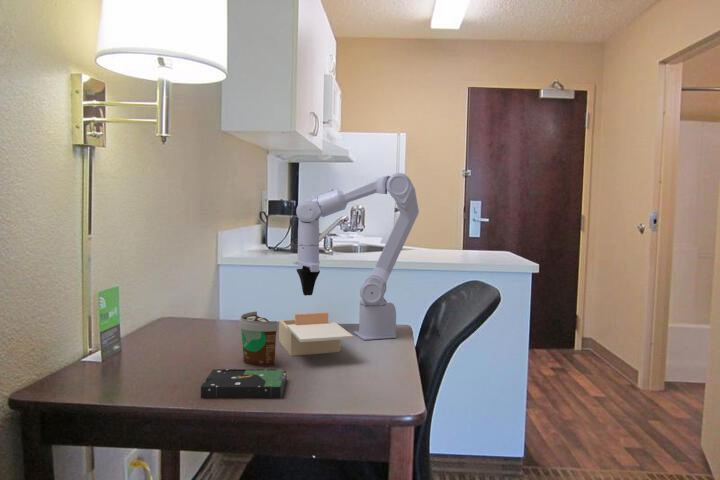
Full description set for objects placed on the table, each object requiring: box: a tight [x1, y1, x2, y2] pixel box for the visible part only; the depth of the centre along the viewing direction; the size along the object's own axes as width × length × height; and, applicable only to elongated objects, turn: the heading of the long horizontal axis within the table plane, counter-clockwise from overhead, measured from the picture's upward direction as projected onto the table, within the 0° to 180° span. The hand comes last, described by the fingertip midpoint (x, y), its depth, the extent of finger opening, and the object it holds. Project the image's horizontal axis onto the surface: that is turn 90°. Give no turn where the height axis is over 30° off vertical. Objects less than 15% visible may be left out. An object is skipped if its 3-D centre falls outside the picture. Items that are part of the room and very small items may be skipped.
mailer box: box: [278, 318, 341, 357], centre depth 133 cm, size 12×14×5 cm
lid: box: [287, 312, 354, 342], centre depth 124 cm, size 12×14×3 cm
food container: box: [237, 310, 279, 367], centre depth 119 cm, size 12×6×10 cm, turn 33°
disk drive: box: [200, 368, 287, 399], centre depth 102 cm, size 10×3×15 cm
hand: (307, 295), depth 145 cm, fingers closed
